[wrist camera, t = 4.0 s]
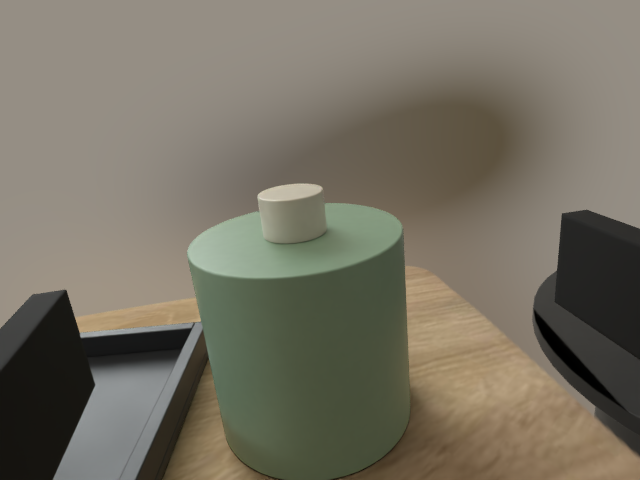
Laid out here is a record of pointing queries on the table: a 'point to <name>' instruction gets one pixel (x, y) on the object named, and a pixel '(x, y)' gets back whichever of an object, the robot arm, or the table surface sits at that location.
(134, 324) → the table surface
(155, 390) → the tray
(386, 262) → the cover
